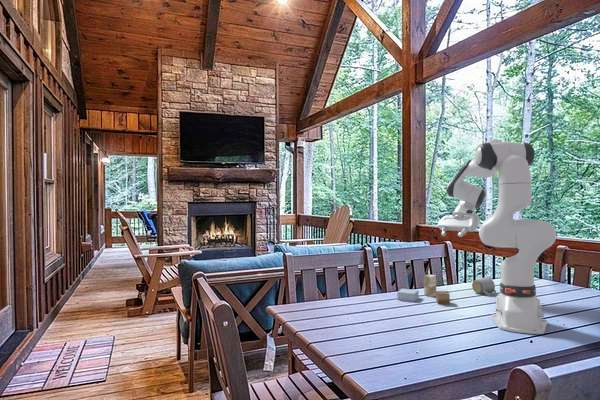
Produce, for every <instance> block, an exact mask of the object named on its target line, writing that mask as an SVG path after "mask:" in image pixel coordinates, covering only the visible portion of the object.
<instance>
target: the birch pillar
mask: <svg viewBox="0 0 600 400" xmlns="http://www.w3.org/2000/svg"><path fill="white" fill-rule="evenodd" d="M423 285H424V287H423V288H424V290H423V291H424V296H426V297H428V298H429V297H430V298H432V297H433V298H434V297H436V291H437V275H435V274H431V273H430V274H425V275H424V276H423Z"/></svg>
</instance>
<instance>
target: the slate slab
mask: <svg viewBox="0 0 600 400" xmlns="http://www.w3.org/2000/svg"><path fill="white" fill-rule="evenodd" d="M396 293H397V300H398V301H405V302H412V303H413V302H416V301H417V300H418V299H419V297H420V296H419V289H412V288H411V289H410V288H400V289H399V290H398V291H397V292H396Z"/></svg>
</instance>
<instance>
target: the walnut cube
mask: <svg viewBox="0 0 600 400" xmlns="http://www.w3.org/2000/svg"><path fill="white" fill-rule="evenodd" d="M450 297H451V295H450V293H449V291H448V290H436V296H435V298H436V303H437V305H444V306H445V305H448V306H449V305H450V304H451V303H450V302H451V301H450V299H451V298H450Z"/></svg>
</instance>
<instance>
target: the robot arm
mask: <svg viewBox="0 0 600 400" xmlns="http://www.w3.org/2000/svg"><path fill="white" fill-rule="evenodd" d="M535 155H536V151H535V149H534V147H533V145H532V144H530V143H528V142H522V141H519V142H517V141H516V142H513V141H502V140H501V139H489V140H488V141H486V142H484V143H481V144H479V145H478V146H477V148H476V149H475V154H474V158H473V159H468V160H467V161H465V163H463V165H462V166H461V167H460V168H459V170H458V172H457V173H456V174H455V176H454V177H453V178H452V179H451V180H450V181H449V182H448V184H447V185H446V189H445V191H446V193H447V195H448V197H451V198H454V199H458V201H459V202H458V205H456V207H455V209H454V210H453V213H452V214H446V215H444V216H442V217H441V219H440V220H439V221H438V223H437V227H438V229H439V230H441V233H440V235H441V236H442V237H446V235H447V233H446V232H447V231H453V232H454V231H455V232H456V231H457V232H458V231H459V232H458V233H457V237H459V238H463V236H464V235H465V234H467V232H472V233H474V232H475V231H476V230H477V229H478V227H479V222H480V221H481V219H480V217H479V215H478V214H477V212H476V209H478V208H480V207H482V204H483V202H484V200H485V198H486V196H487V194H486V192H485V189H484V188H482V187H480V186H478V185H476V184H473V183H470V182H467V181H465V180H464V178H466V177H469V176H470V177H477V178H482V179H486V178H487V179H488V178H492V177H493V176H495V175H496V174H497V173H498V197H497V199H498V200H497V205H496V208H495V210H494V212H493V213H492V215H491V216H490V217H489V218H488V219H486V220H485V221H484V222H483V223H482V224H481V225H480V227H479V230H478V236H479V239H480V241H481V242H482V243H483V244H484V245H485V246H489V247H494V248H505V249H506V248H511V249H518V253H516V254H515V255H512V256H509V257H507V258H505V259H504V260H503V261H502V262H501V264H500V282H499V292H500V293H499V294H498V295H496V297H495V307H496V308H495V312H496V313H493V314H491V315H490V318H491V319H492V321H493V322H494V323H495V325H496V326H497V328H498V329H500V330H504V331H507V332H514V333H519V334H521V333H522V334H530V335H533V334H534V335H544V334H545V332H546V330H547V326H548V320H547V319H544V317H545V312H544V310H542V309H543V305H541V300H540V298H538V296H536V295H537V287H536V284H535V267H536V263H537V261H538V258H539V257H540V255H541V254H542V253H544V251H546V250H547V249H549V248H550V247H551V246H553V245H554V244H555V242H556V241H557V240H556V239H557V232H556V228H555V226H554V225H553V224H552V223H551V222H550V221H544V220H540V219H539V220H538V219H516V218H514V215H515V214H516V213H519V212H520V211H523V210H525V209H526V208H528V207H529V206H530V205H531V204H532V199H533V198H532V179H531V178H532V176H531V171H530V166H531V165H532V164H533V162H534V160H535Z"/></svg>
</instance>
